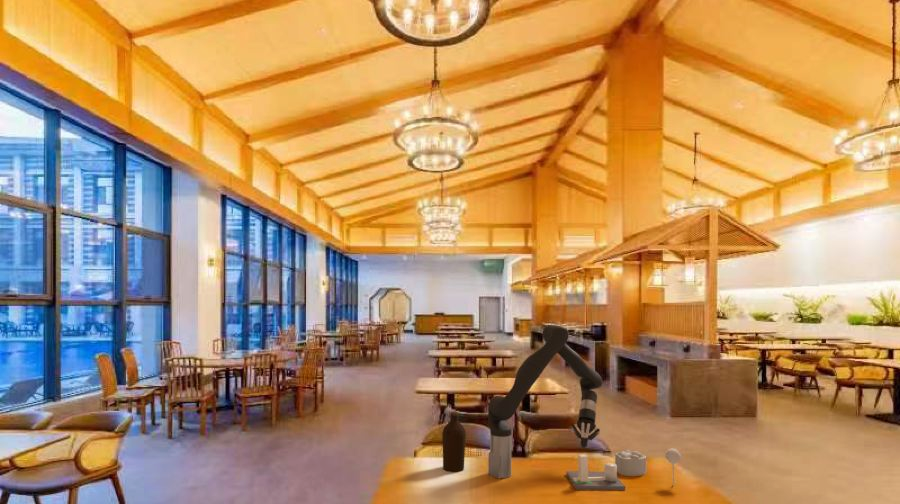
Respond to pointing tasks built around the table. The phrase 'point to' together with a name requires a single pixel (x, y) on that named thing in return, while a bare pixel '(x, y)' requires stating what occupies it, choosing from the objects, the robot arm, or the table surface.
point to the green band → (583, 482)
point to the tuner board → (595, 482)
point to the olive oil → (453, 445)
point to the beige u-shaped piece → (609, 475)
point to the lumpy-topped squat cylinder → (630, 463)
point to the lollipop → (673, 457)
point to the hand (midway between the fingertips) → (583, 447)
